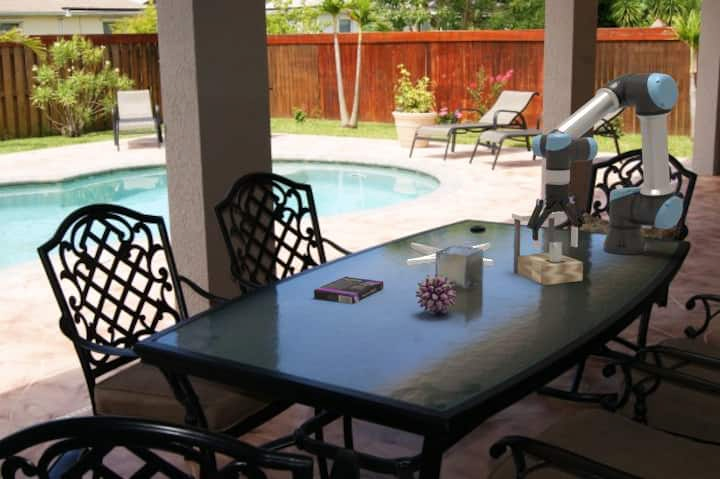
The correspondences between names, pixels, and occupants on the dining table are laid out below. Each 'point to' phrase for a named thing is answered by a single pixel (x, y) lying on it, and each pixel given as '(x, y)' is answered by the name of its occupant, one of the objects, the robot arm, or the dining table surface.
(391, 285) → the dining table surface
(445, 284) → the purple spiky ball
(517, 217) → the miniature white table
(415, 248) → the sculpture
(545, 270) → the socket block
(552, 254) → the peg
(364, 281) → the box
